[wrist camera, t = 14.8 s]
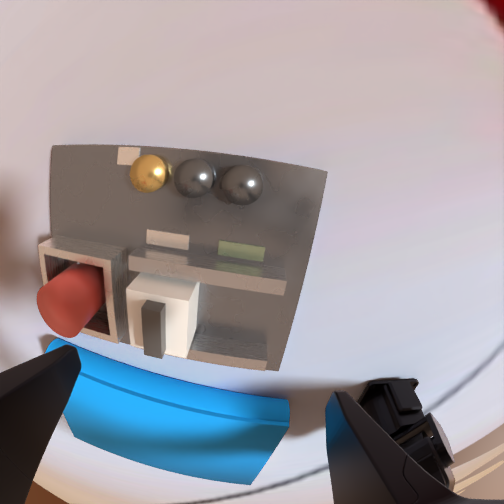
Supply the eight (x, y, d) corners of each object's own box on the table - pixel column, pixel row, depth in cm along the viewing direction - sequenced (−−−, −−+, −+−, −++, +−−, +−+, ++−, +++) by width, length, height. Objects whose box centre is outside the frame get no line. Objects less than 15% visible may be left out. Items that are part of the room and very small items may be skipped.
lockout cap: (113, 308, 20) (84, 344, 16) (75, 297, 20) (43, 328, 15) (110, 262, 19) (75, 293, 14) (70, 254, 19) (32, 279, 14)
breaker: (196, 328, 21) (183, 368, 16) (146, 318, 20) (125, 354, 16) (200, 276, 19) (184, 310, 15) (145, 266, 19) (119, 296, 15)
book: (252, 485, 27) (74, 439, 26) (252, 460, 31) (84, 418, 30) (292, 422, 21) (38, 355, 20) (288, 388, 25) (58, 332, 24)
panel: (277, 361, 23) (279, 392, 20) (71, 318, 22) (51, 339, 19) (323, 170, 18) (338, 174, 14) (61, 145, 17) (31, 147, 14)
